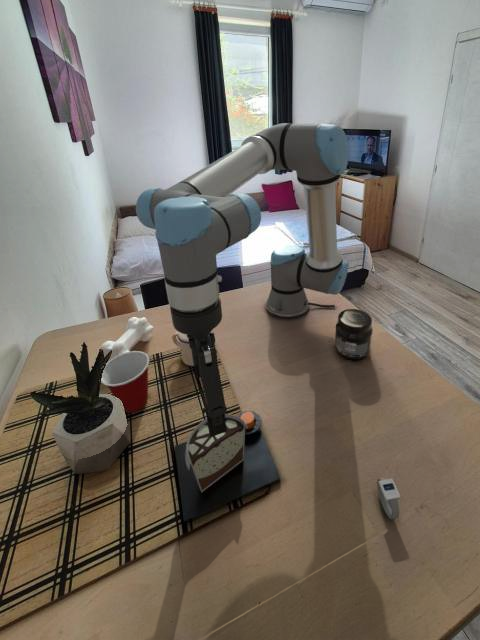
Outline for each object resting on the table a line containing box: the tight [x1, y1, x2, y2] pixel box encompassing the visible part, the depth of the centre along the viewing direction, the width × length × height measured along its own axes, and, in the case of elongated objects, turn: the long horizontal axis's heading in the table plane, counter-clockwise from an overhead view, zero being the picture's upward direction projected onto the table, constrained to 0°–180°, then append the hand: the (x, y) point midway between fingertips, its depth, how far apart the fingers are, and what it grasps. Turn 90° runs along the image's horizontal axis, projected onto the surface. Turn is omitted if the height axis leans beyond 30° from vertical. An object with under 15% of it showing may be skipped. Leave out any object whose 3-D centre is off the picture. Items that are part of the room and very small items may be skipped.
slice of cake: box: [185, 413, 248, 493], centre depth 63 cm, size 12×6×10 cm, turn 131°
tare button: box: [241, 411, 255, 429], centre depth 71 cm, size 3×3×2 cm
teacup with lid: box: [171, 331, 212, 367], centre depth 93 cm, size 12×9×12 cm
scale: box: [174, 410, 282, 526], centre depth 66 cm, size 18×16×3 cm
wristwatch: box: [376, 476, 402, 520], centre depth 58 cm, size 6×3×5 cm, turn 9°
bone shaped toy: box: [100, 316, 154, 361], centre depth 95 cm, size 15×9×8 cm, turn 170°
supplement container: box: [333, 308, 374, 362], centre depth 95 cm, size 10×10×12 cm
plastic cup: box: [100, 350, 150, 414], centre depth 77 cm, size 11×11×12 cm
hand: (209, 401), depth 58 cm, fingers open, 13 cm apart
